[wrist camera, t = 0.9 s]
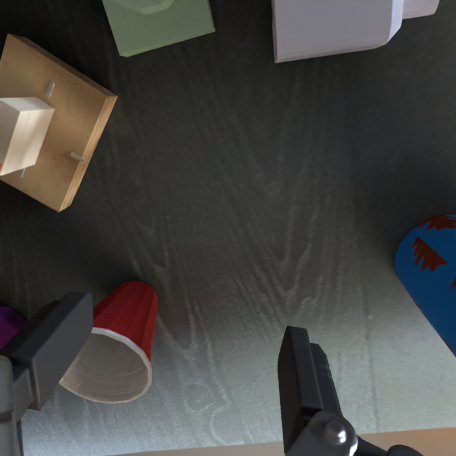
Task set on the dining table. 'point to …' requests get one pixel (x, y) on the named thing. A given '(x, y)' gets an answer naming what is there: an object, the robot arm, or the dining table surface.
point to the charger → (338, 25)
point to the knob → (22, 131)
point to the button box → (156, 23)
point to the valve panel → (55, 119)
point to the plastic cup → (117, 347)
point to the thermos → (432, 273)
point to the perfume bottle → (9, 324)
